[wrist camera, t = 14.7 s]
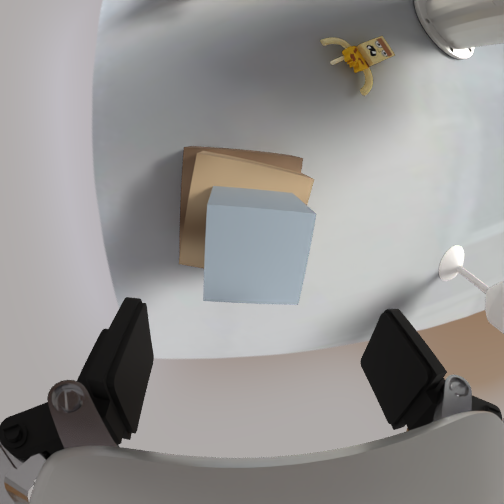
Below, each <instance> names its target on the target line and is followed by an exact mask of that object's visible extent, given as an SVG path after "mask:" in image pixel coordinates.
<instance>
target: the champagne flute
mask: <svg viewBox="0 0 504 504" xmlns="http://www.w3.org/2000/svg"><path fill="white" fill-rule="evenodd" d="M463 262H464V250H463V248H462V247H461V246H459V245H456V246H453V247H451V248H450V249H449V250H448V251H447V252H446V253H445V255H444V256H443V258H442V260H441V263H440V266H439V276H440V278H441V279H442V280H443V281H449V280H451V279H453V278H454V277H455V276H456V275H457V274H458V273H460V274H461V275H462V276H464V277H465V278H466V279H468V280H469V281H470V282H471V283H473V284H474V285H475V286H476V287H478V288H479V289H480V290H481V291H482V292H484V293H485V294H486V298H485V310H486V316H487V319H488V321H489V322H490V323H491V324H492V325H493V326H495V327H496V328H497V329H499V330H500V331H501V332H502V333H503V334H504V281H503V282H500V283H498V284H495V285H493V286H492V287H488V286H487V285H486V284H485V283H483V282H482V281H481V280H479V279H478V278H477V277H475V276H474V275H473V274H471V273H470V272H469V271H467V270H466V269H465V268H463V267H462V265H463Z"/></svg>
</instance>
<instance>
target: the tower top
mask: <svg viewBox="0 0 504 504" xmlns="http://www.w3.org/2000/svg"><path fill="white" fill-rule="evenodd" d="M313 182H314V179H312V178H310V177H308V176H306V175H304V174H302V173H300V172H298V171H294V170H290V169H286V168H282V167H278V166H274V165H270V164H266V163H261V162H257V161H252V160H248V159H243V158H238V157H233V156H228V155H223V154H218V153H213V152H207V151H201V152H199V153H197V156H196V161H195V166H194V171H193V176H192V182H191V187H190V193H189V198H188V204H187V210H186V216H185V223H184V229H183V236H182V243H181V250H180V258H179V264H182V265H187V266H193V267H198V268H204V261H205V237H206V217H207V204H208V201H209V197H210V194H211V191H212V188H213V186H221V187H235V188H247V189H258V190H269V191H279V192H288V193H293V194H294V195H295V196H297V197H298V198H299V199H300V200H301V201H302V202H303V203H305V204H306V205H307V203H308V200H309V196H310V193H311V189H312V186H313Z"/></svg>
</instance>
